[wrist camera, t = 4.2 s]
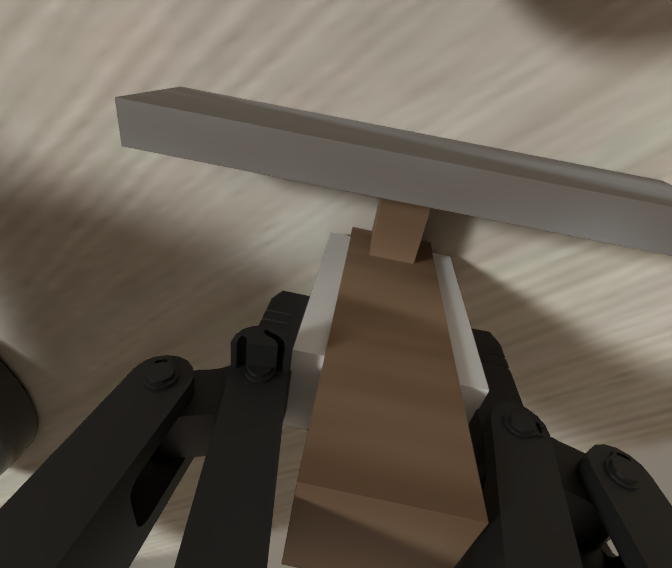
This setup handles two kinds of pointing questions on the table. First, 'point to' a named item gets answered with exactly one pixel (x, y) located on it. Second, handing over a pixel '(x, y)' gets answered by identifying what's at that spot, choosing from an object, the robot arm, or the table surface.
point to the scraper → (393, 307)
